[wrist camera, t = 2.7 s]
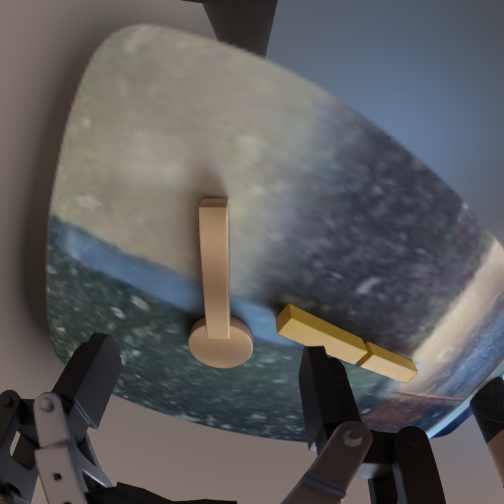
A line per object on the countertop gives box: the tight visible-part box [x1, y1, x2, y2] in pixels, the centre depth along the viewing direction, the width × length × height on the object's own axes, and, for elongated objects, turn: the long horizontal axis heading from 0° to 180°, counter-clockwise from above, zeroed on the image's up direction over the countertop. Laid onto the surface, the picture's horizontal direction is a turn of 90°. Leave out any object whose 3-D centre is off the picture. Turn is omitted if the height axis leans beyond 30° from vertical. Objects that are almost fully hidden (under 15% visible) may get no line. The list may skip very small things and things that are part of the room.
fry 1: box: [276, 303, 367, 364], centre depth 18 cm, size 7×2×2 cm, turn 59°
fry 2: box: [358, 341, 418, 383], centre depth 19 cm, size 7×2×2 cm, turn 59°
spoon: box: [188, 198, 253, 368], centre depth 16 cm, size 12×4×2 cm, turn 179°
